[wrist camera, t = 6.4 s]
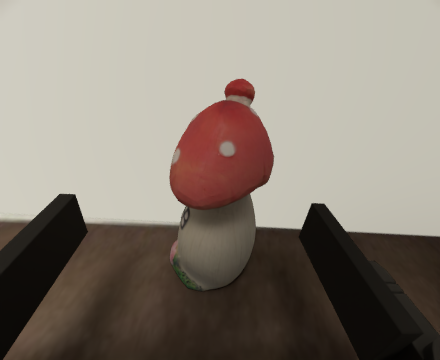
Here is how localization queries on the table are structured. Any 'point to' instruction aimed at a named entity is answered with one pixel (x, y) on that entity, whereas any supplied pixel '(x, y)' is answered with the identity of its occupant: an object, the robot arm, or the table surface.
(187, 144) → the decorative ornament
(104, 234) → the table surface
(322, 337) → the table surface
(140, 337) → the table surface
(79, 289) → the table surface
